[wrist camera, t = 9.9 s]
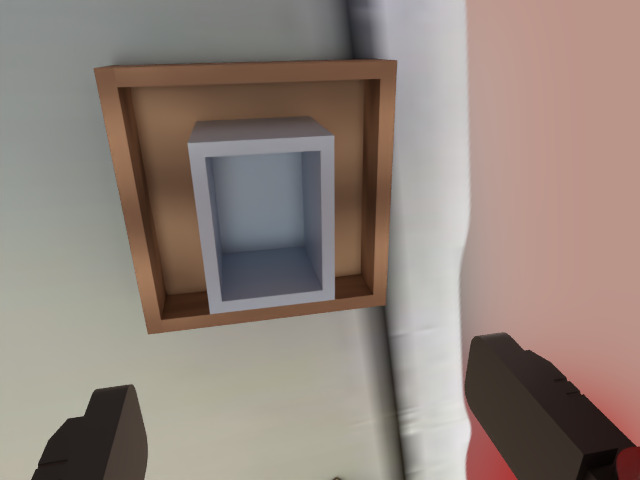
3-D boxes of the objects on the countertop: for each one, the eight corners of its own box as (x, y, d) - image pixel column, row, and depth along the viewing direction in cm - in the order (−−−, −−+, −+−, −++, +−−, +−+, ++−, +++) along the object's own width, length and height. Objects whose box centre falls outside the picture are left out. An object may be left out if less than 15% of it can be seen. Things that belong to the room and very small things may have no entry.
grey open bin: (196, 121, 23) (187, 143, 18) (309, 116, 24) (334, 135, 19) (212, 259, 26) (210, 314, 21) (312, 250, 27) (334, 299, 22)
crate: (112, 65, 22) (93, 68, 19) (374, 58, 25) (397, 60, 21) (156, 301, 28) (148, 334, 24) (368, 277, 30) (385, 304, 27)
